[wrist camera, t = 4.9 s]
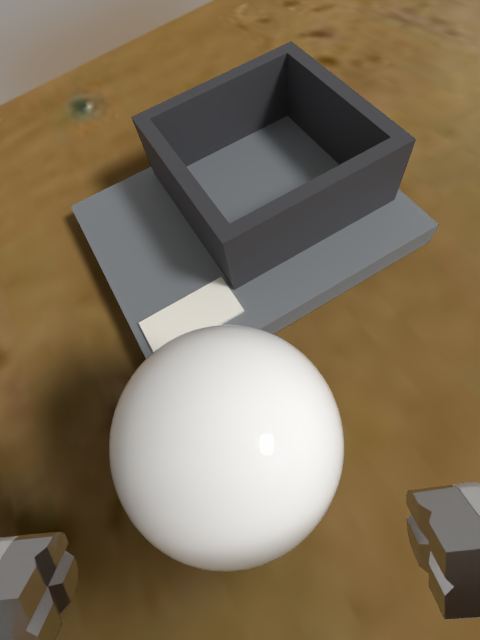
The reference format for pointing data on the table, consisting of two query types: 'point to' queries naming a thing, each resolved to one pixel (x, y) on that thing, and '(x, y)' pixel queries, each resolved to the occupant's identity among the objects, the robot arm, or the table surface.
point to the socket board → (254, 202)
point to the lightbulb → (226, 448)
